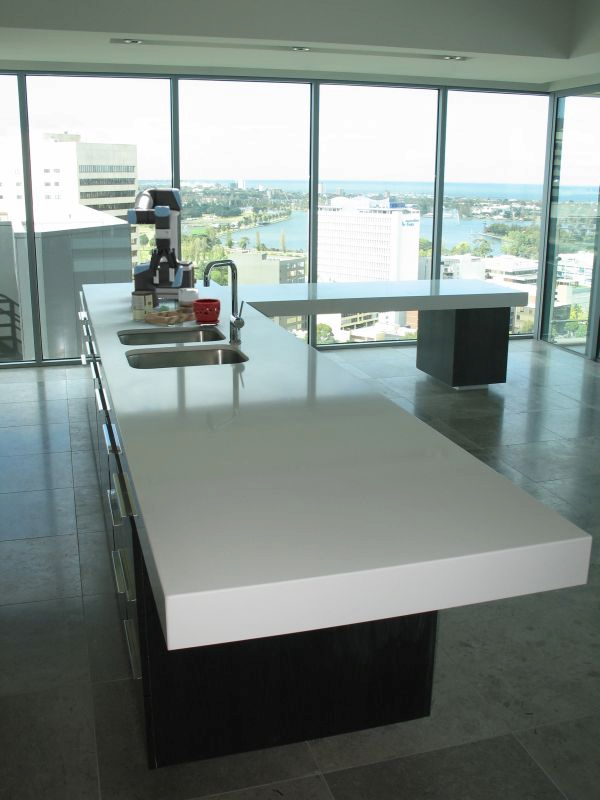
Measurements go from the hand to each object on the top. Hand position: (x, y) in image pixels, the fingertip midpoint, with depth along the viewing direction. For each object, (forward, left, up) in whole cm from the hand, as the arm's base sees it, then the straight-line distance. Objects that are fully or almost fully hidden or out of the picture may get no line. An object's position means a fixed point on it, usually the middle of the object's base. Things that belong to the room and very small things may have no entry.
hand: (164, 282), depth 423 cm
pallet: (+13, -3, -18) cm, 22 cm away
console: (0, 0, -18) cm, 18 cm away
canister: (+13, +4, -17) cm, 22 cm away
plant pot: (+32, -2, -18) cm, 37 cm away
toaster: (-51, +52, -18) cm, 75 cm away
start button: (0, 0, -16) cm, 16 cm away
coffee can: (-1, -14, -18) cm, 23 cm away
